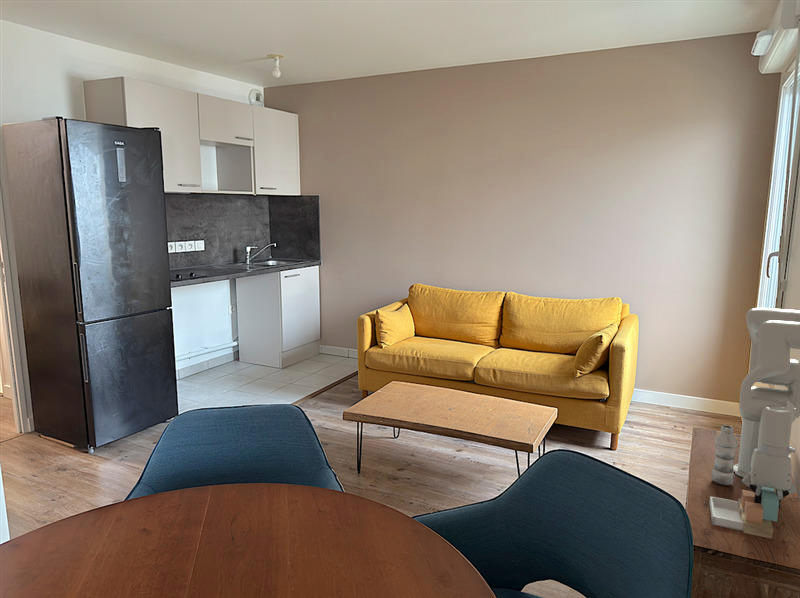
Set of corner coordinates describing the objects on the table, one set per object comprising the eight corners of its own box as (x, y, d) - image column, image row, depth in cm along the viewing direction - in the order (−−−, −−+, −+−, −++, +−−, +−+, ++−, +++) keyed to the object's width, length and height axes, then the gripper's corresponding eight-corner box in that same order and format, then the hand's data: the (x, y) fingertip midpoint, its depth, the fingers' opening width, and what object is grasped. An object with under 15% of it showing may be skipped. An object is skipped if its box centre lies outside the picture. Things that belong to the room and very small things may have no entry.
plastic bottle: (714, 477, 198) (719, 421, 196) (736, 483, 194) (741, 427, 191) (708, 482, 194) (713, 426, 191) (730, 489, 189) (735, 432, 186)
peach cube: (744, 513, 168) (745, 500, 167) (759, 516, 166) (761, 503, 165) (745, 520, 164) (747, 507, 163) (762, 523, 162) (763, 510, 162)
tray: (709, 503, 180) (709, 496, 179) (737, 509, 176) (738, 501, 176) (712, 524, 167) (712, 516, 167) (743, 531, 164) (743, 522, 163)
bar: (756, 500, 173) (758, 481, 172) (769, 502, 172) (772, 483, 171) (762, 518, 162) (764, 499, 161) (777, 521, 161) (779, 501, 160)
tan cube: (740, 501, 175) (742, 489, 174) (756, 504, 173) (757, 492, 173) (742, 507, 171) (743, 495, 171) (757, 510, 170) (759, 497, 169)
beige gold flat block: (737, 507, 177) (738, 498, 177) (763, 512, 174) (764, 503, 174) (743, 532, 163) (744, 522, 162) (772, 538, 160) (773, 528, 159)
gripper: (804, 449, 164) (797, 509, 167) (738, 439, 171) (732, 497, 174) (810, 459, 157) (803, 521, 160) (741, 448, 164) (735, 508, 167)
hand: (766, 507), depth 167 cm, fingers closed on bar, 3 cm apart
